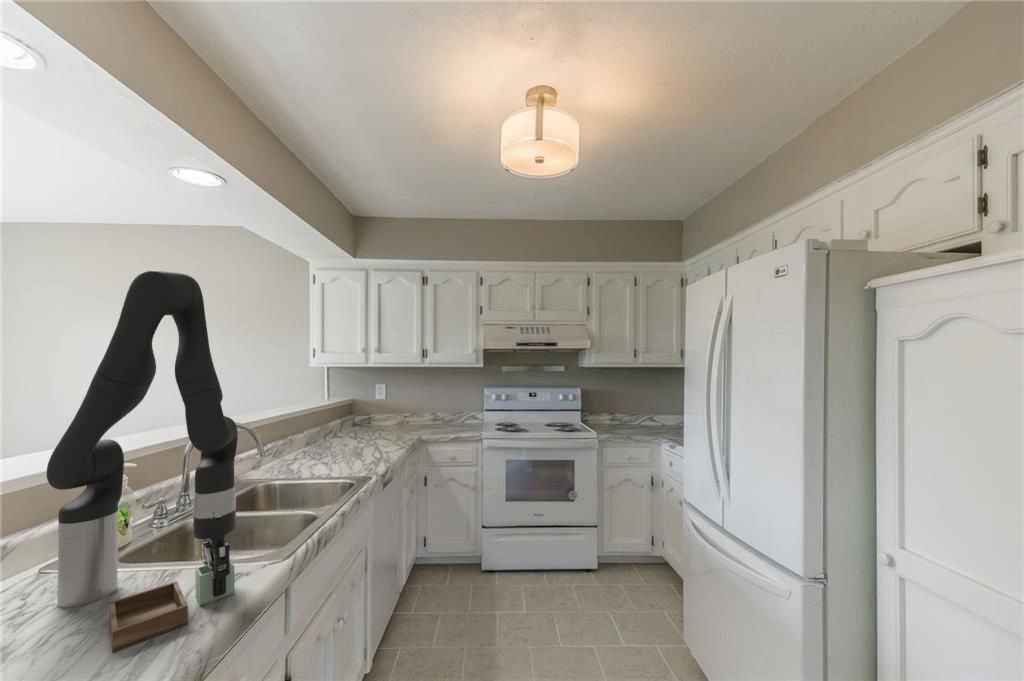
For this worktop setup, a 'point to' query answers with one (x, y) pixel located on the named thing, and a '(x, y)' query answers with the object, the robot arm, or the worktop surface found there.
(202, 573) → the small crate
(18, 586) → the worktop surface
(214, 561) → the robot arm
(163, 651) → the worktop surface
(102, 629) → the worktop surface
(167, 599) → the big crate
